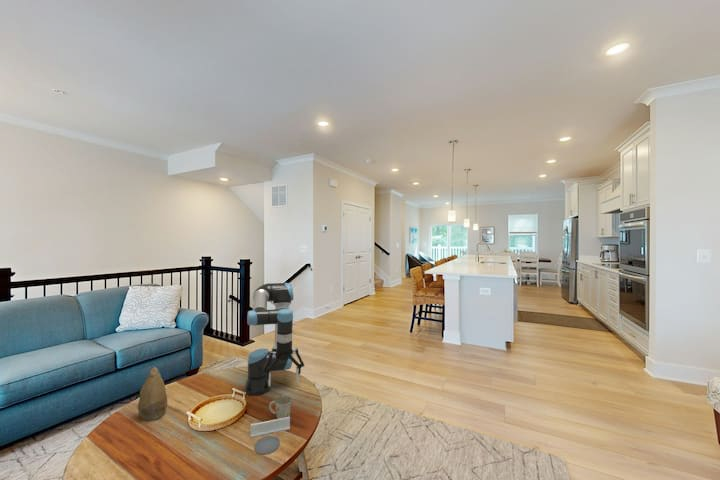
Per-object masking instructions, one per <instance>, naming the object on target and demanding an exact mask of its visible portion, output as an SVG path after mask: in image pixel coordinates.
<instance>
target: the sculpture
mask: <svg viewBox="0 0 720 480" xmlns="http://www.w3.org/2000/svg"><path fill="white" fill-rule="evenodd" d="M167 396H168V395H167V390H166V385H165V382H164V379H163V378H162V375H161V373H160V371H159V369H158V367H155V366H154V367H152V368H151V369H150V371H149V372H148V374H147V376H146V379H145V381H144V383H143V385H142V387H141V388H140V391H139V400H138V404H137V405H138V406H137V410H138V412H139V413H138V414H139V416H140V418H142V419H144V420H149V421H150V420H160V419H161V418H162V417H164V415H165V414H166V410H167V407H168V397H167Z"/></svg>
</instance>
